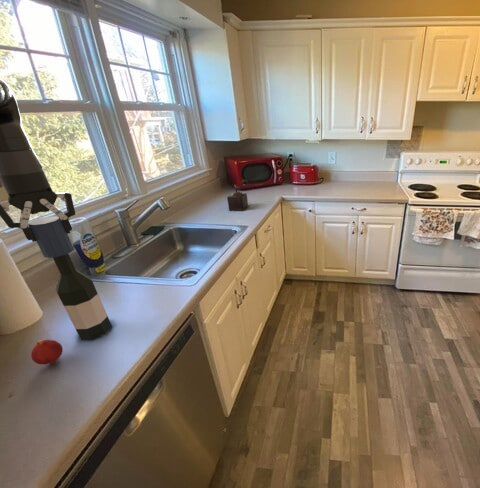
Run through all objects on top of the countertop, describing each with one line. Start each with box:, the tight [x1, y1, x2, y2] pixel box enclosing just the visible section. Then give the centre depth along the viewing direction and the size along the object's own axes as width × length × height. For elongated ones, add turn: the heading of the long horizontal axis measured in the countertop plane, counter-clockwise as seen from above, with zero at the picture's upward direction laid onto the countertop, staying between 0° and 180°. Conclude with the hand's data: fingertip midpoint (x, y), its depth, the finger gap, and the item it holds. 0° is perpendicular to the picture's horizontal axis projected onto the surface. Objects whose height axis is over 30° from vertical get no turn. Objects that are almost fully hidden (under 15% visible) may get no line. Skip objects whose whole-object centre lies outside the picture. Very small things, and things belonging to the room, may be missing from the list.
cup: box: [28, 215, 75, 259], centre depth 72 cm, size 6×6×9 cm
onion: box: [30, 339, 64, 365], centre depth 73 cm, size 6×6×8 cm
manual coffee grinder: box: [226, 179, 249, 212], centre depth 190 cm, size 16×11×18 cm
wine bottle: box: [52, 253, 113, 341], centre depth 79 cm, size 8×8×30 cm
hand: (51, 236), depth 72 cm, fingers closed on cup, 6 cm apart
